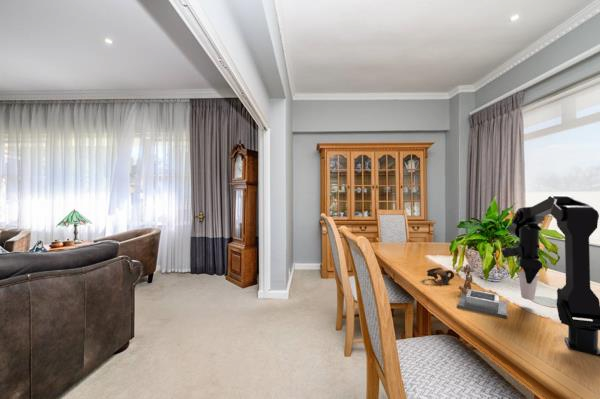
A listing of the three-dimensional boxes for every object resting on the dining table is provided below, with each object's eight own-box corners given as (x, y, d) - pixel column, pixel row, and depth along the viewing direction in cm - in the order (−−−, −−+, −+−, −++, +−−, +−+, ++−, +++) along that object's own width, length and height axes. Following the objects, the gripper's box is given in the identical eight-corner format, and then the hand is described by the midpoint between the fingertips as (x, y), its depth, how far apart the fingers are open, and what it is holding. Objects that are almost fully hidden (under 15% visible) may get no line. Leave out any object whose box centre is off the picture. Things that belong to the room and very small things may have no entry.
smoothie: (543, 301, 99) (543, 264, 98) (523, 300, 100) (524, 263, 100) (531, 295, 105) (532, 260, 105) (513, 294, 106) (514, 259, 106)
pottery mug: (433, 286, 126) (426, 269, 130) (429, 289, 134) (423, 272, 138) (459, 281, 124) (452, 263, 128) (454, 284, 133) (447, 267, 136)
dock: (507, 318, 92) (507, 307, 92) (457, 307, 101) (457, 296, 101) (506, 304, 104) (506, 294, 104) (461, 295, 113) (462, 286, 113)
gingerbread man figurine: (476, 295, 114) (477, 267, 113) (466, 294, 115) (467, 266, 114) (468, 288, 122) (468, 262, 122) (459, 287, 123) (459, 261, 123)
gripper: (502, 235, 114) (501, 272, 115) (502, 241, 99) (501, 283, 100) (536, 238, 108) (536, 276, 108) (542, 245, 93) (541, 289, 93)
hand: (528, 281), depth 102 cm, fingers closed on smoothie, 6 cm apart
